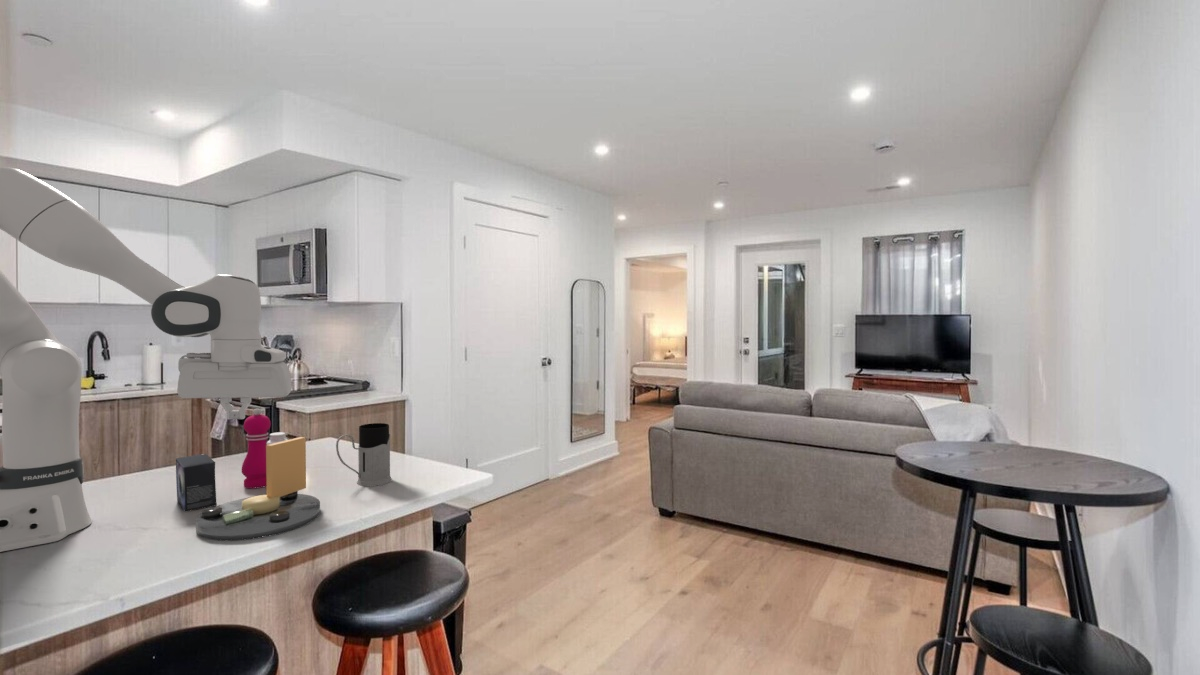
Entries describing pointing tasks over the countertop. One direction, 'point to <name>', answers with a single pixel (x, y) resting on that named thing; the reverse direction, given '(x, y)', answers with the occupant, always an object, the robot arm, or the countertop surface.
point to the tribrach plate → (256, 518)
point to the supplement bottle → (277, 437)
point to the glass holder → (372, 454)
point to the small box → (195, 482)
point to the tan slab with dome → (281, 474)
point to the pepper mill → (256, 450)
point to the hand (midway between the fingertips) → (236, 419)
